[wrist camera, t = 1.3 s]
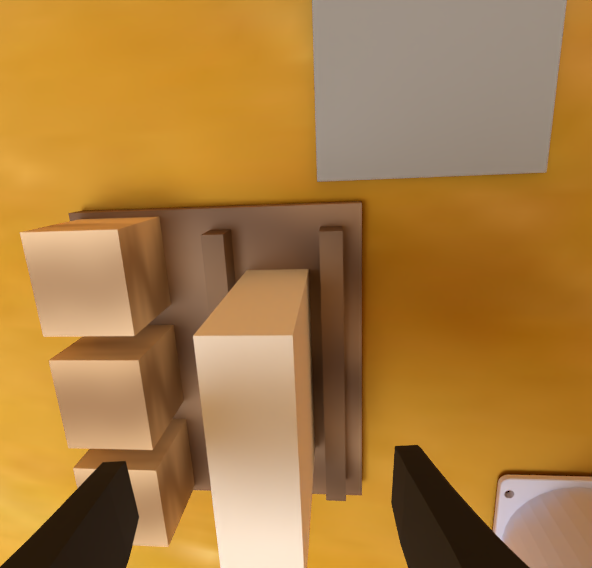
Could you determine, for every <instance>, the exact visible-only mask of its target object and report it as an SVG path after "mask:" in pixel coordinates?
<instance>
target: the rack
mask: <svg viewBox="0 0 592 568" xmlns="http://www.w3.org/2000/svg"><path fill="white" fill-rule="evenodd" d="M133 217H159V218H160V225H161V233H162V241H163V248H164V256H165V263H166V271H167V279H168V286H169V294H170V301H171V305H170V306H169V307H168V308H166V309H165V310H164V311H163V312H162V313H161V314H159V315H158V316H157V317H156V318H155V319H154V320H153V321H151V322H150V323H149V324H148V325H174V332H175V339H176V347H177V354H178V362H179V370H180V377H181V385H182V392H183V400H184V401H183V403H182V405H181V406H180V408H179V409H178V411H177V413H176V414H175V416H174V417H173V419H186V423H187V430H188V438H189V445H190V453H191V461H192V468H193V476H194V483H195V486H194V489H193V490H211V483H210V475H209V467H208V458H207V450H206V441H205V433H204V425H203V416H202V408H201V399H200V391H199V383H198V374H197V366H196V357H195V349H194V341H193V335H194V334H195V333H196V332H197V330H198V329H199V328H200V327H201V325H202V324H203V323H204V322H205V321H206V319H207V318H208V317H209V316H210V314H211V313H212V312H213V311H214V310H215V308H216V307H217V306H218V305H219V303H220V302H221V301H222V300H223V299H224V297H225V296H226V295H227V294H228V292H229V291H230V290H231V289H232V288H233V286H234V285H235V284H236V283H237V281H238V280H239V279H240V278H241V277H242V275H243V274H244V273H245V272H246V270H281V269H309V291H310V319H311V348H312V376H313V404H314V433H315V456H314V471H313V486H312V494H326V500H334V501H346V495H362V203H361V201H352V202H323V203H295V204H267V205H238V206H210V207H182V208H153V209H125V210H97V211H78V212H73V213H69V218H70V221H74V220H79V219H103V218H133Z"/></svg>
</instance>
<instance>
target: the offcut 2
mask: <svg viewBox="0 0 592 568" xmlns="http://www.w3.org/2000/svg"><path fill="white" fill-rule="evenodd" d="M115 461H126V464H127V468H128V473H129V477H130V481H131V485H132V489H133V493H134V497H135V501H136V505H137V509H138V514H139V520H138V524H137V529H136V533H135V537H134V541H133V545H139V546H161V547H168V546H169V544H170V542H171V540H172V537H173V535H174V533H175V530H176V528H177V526H178V523H179V521H180V519H181V516H182V514H183V512H184V509H185V507H186V505H187V503H188V500H189V498H190V496H191V493H192V491H193V489H194V486H195V483H194V476H193V468H192V461H191V453H190V445H189V438H188V430H187V423H186V419H172V420H171V422H170V424H169V425H168V427H167V428H166V430H165V431H164V433H163V435H162V436H161V438H160V439H159V441H158V443H157V444H156V446H155V447H154V449H153V450H131V449H89V450H88V451H87V453H86V454H85V455H84V456H83V457H82V458H81V460H80V461H79V462H78V463H77V464H76V465H75V467H74V468H73V470H74V475H75V479H76V484H77V488H79V486H80V485H81V484H82V483H83V482H84V481H85V480H86V479H87V478H88V477H89V476H90V475H91V474H92V473H93V472H94V471H95V470H96V469H97V468H98V467H99V466H100V465H101V463H102V462H115Z"/></svg>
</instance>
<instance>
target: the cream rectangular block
mask: <svg viewBox="0 0 592 568" xmlns="http://www.w3.org/2000/svg"><path fill="white" fill-rule="evenodd" d="M193 341H194V349H195V357H196V366H197V374H198V383H199V391H200V399H201V408H202V416H203V425H204V433H205V441H206V450H207V458H208V467H209V475H210V483H211V492H212V500H213V508H214V517H215V525H216V534H217V542H218V550H219V559H220V567H221V568H307V560H308V545H309V530H310V515H311V501H312V486H313V471H314V456H315V433H314V404H313V376H312V348H311V319H310V291H309V269H281V270H246V272H245V273H244V274H243V275H242V277H241V278H240V279H239V280H238V281H237V283H236V284H235V285H234V286H233V288H232V289H231V290H230V291H229V292H228V294H227V295H226V296H225V297H224V299H223V300H222V301H221V302H220V303H219V305H218V306H217V307H216V308H215V310H214V311H213V312H212V313H211V314H210V316H209V317H208V318H207V319H206V321H205V322H204V323H203V324H202V325H201V327H200V328H199V329H198V330H197V332H196V333H195V334H194V335H193Z"/></svg>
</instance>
